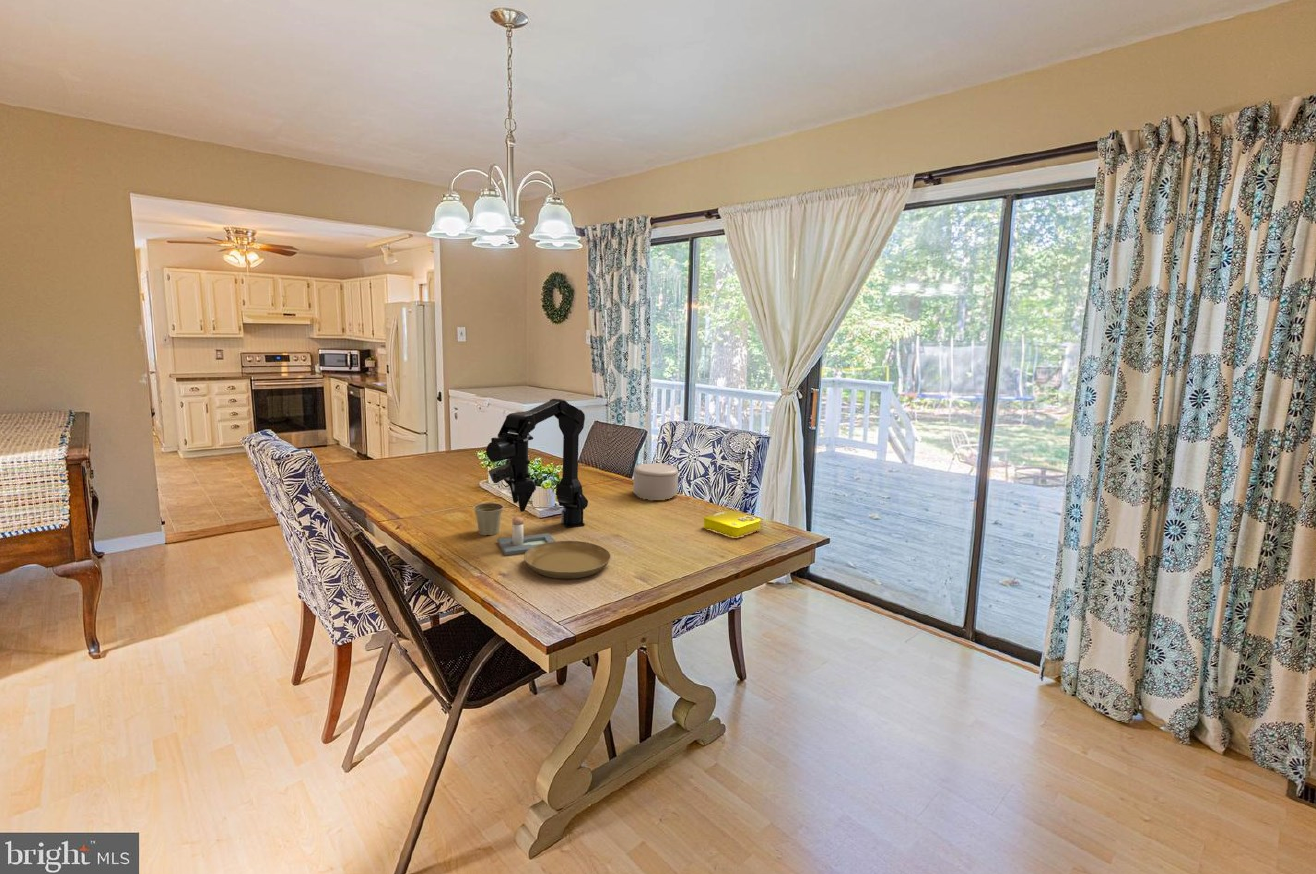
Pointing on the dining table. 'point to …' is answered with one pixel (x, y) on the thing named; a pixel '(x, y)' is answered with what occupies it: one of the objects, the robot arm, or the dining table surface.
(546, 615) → the dining table surface
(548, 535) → the keyhole plate
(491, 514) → the flower pot
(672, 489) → the container
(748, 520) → the element tile
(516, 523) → the cream peg
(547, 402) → the robot arm
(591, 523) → the dining table surface
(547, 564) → the plant saucer
